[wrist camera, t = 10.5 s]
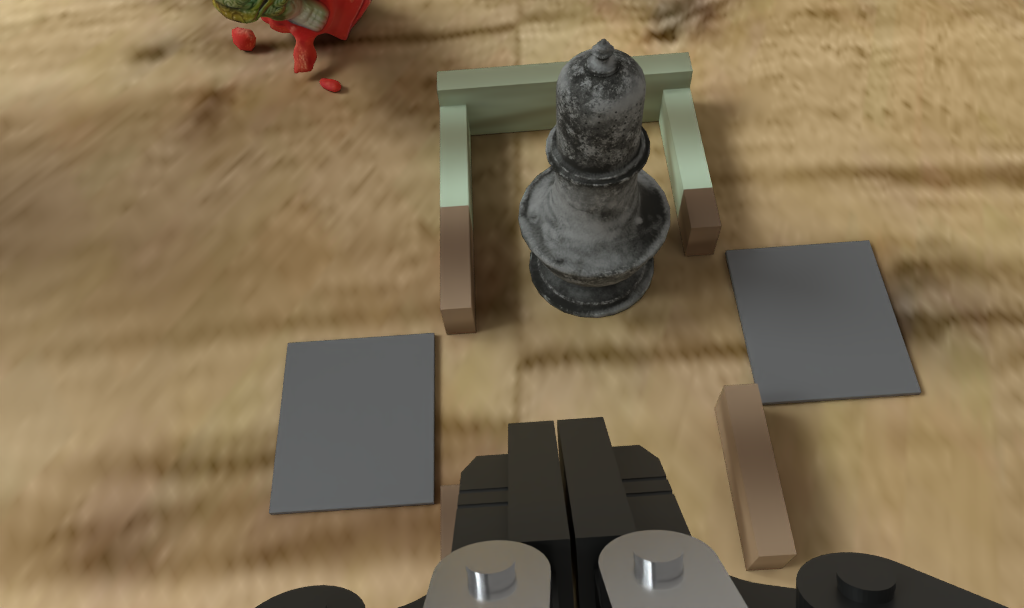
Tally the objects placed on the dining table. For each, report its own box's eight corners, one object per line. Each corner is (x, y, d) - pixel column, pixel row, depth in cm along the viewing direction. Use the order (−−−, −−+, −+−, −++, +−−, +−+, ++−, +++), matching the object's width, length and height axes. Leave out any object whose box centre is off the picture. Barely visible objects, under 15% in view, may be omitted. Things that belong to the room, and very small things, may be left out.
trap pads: (945, 470, 28) (948, 469, 28) (270, 514, 29) (269, 512, 29) (867, 243, 33) (868, 240, 33) (296, 284, 34) (294, 281, 34)
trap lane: (781, 568, 27) (804, 546, 24) (448, 589, 27) (436, 569, 25) (680, 100, 38) (688, 52, 36) (445, 118, 39) (436, 71, 36)
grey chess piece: (496, 249, 34) (467, 25, 24) (606, 188, 36) (623, -49, 25) (574, 349, 32) (579, 144, 21) (689, 278, 33) (746, 54, 23)
